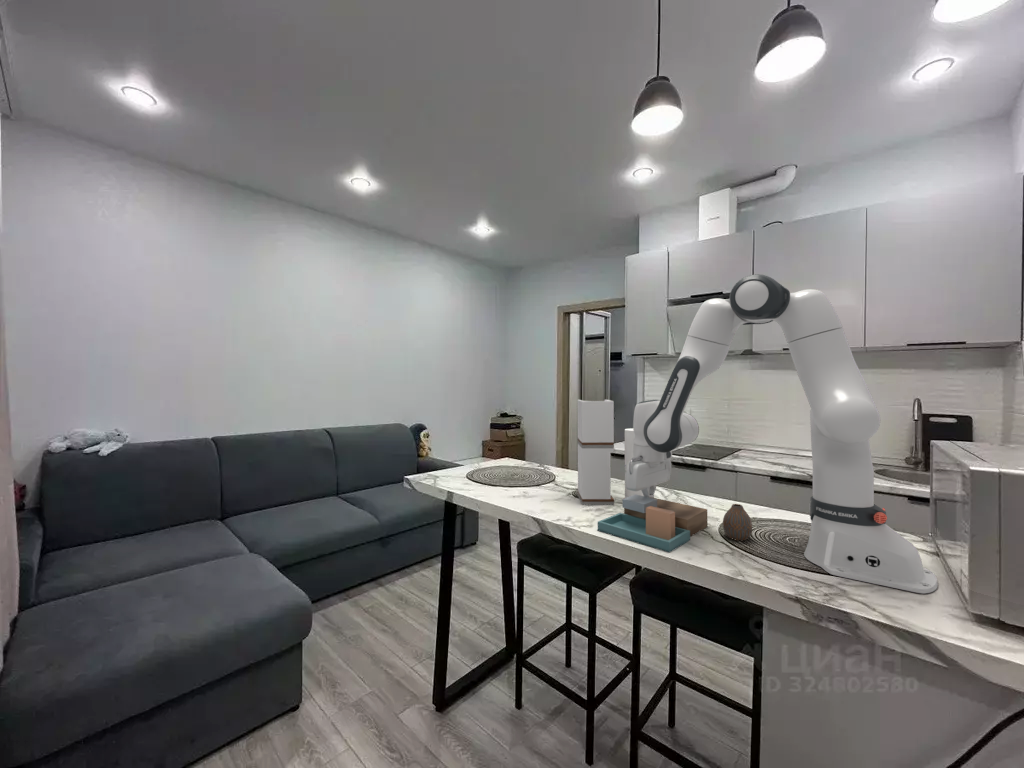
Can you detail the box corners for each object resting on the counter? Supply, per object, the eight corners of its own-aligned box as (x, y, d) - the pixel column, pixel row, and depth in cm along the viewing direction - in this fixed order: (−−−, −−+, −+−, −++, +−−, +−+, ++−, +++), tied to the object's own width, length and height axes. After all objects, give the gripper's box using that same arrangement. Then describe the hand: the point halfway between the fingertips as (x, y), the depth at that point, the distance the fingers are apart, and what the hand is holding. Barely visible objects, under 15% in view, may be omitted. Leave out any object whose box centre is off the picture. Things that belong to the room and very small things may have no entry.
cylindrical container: (644, 499, 148) (643, 428, 148) (648, 505, 141) (648, 430, 141) (623, 499, 149) (623, 428, 149) (626, 505, 142) (626, 430, 142)
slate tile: (657, 507, 122) (657, 499, 122) (644, 513, 117) (644, 504, 117) (635, 502, 127) (635, 494, 127) (622, 507, 123) (622, 498, 123)
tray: (690, 540, 111) (690, 530, 111) (669, 552, 103) (669, 542, 103) (620, 520, 126) (620, 512, 126) (597, 530, 118) (597, 521, 118)
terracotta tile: (675, 511, 111) (670, 513, 109) (675, 538, 111) (670, 540, 109) (650, 505, 116) (645, 507, 114) (650, 531, 116) (645, 533, 114)
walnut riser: (707, 526, 121) (707, 509, 121) (687, 538, 112) (687, 519, 112) (646, 511, 134) (646, 496, 134) (624, 521, 126) (624, 504, 126)
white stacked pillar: (614, 505, 142) (613, 401, 141) (582, 505, 142) (581, 401, 142) (607, 495, 153) (606, 399, 153) (577, 495, 154) (577, 399, 153)
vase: (723, 531, 117) (723, 500, 117) (752, 536, 113) (752, 503, 113) (721, 539, 111) (721, 506, 111) (752, 544, 107) (751, 510, 107)
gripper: (639, 460, 116) (639, 510, 116) (674, 451, 130) (674, 496, 130) (619, 457, 121) (619, 505, 121) (655, 448, 135) (655, 492, 135)
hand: (648, 500), depth 126 cm, fingers closed
